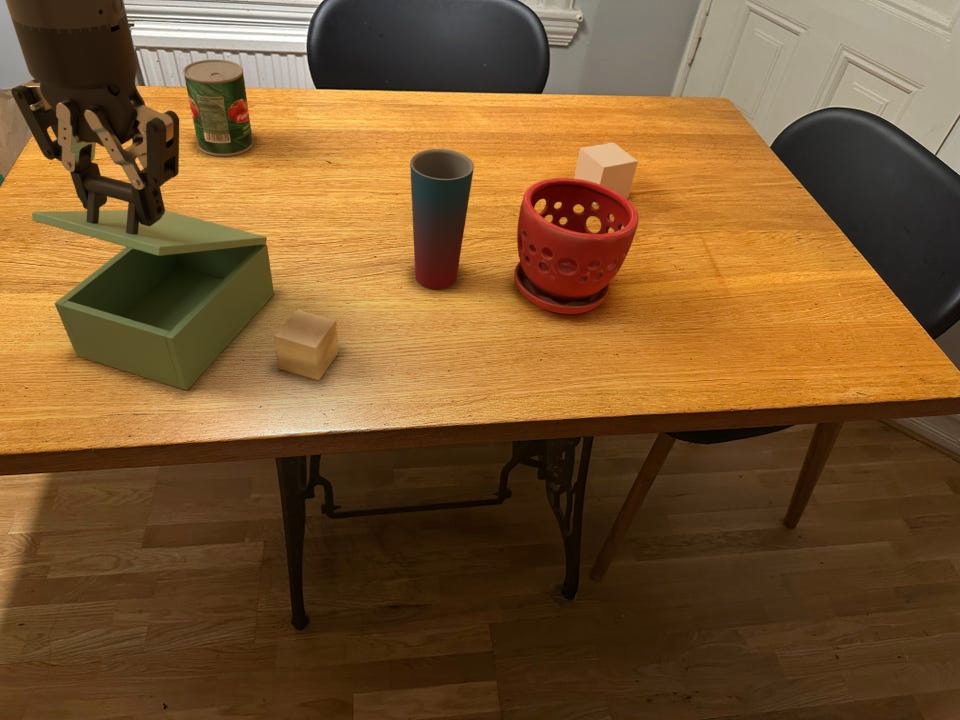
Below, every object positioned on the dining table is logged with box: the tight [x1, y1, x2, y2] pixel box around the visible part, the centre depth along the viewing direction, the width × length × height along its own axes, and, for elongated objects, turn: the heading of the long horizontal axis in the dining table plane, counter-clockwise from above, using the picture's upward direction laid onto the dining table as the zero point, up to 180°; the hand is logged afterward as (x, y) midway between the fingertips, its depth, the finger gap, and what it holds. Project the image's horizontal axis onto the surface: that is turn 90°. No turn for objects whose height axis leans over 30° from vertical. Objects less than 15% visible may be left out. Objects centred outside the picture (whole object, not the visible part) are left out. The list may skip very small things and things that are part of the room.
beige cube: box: [573, 142, 639, 206], centre depth 101 cm, size 6×6×6 cm
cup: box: [409, 148, 475, 290], centre depth 79 cm, size 7×7×15 cm
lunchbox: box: [54, 243, 275, 391], centre depth 72 cm, size 17×13×7 cm
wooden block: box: [273, 309, 339, 381], centre depth 71 cm, size 4×4×4 cm
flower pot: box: [513, 177, 639, 315], centre depth 81 cm, size 13×13×12 cm
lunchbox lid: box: [31, 173, 268, 256], centre depth 67 cm, size 17×13×5 cm
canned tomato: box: [182, 59, 254, 157], centre depth 100 cm, size 8×8×11 cm
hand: (124, 213), depth 62 cm, fingers closed on lunchbox lid, 5 cm apart
